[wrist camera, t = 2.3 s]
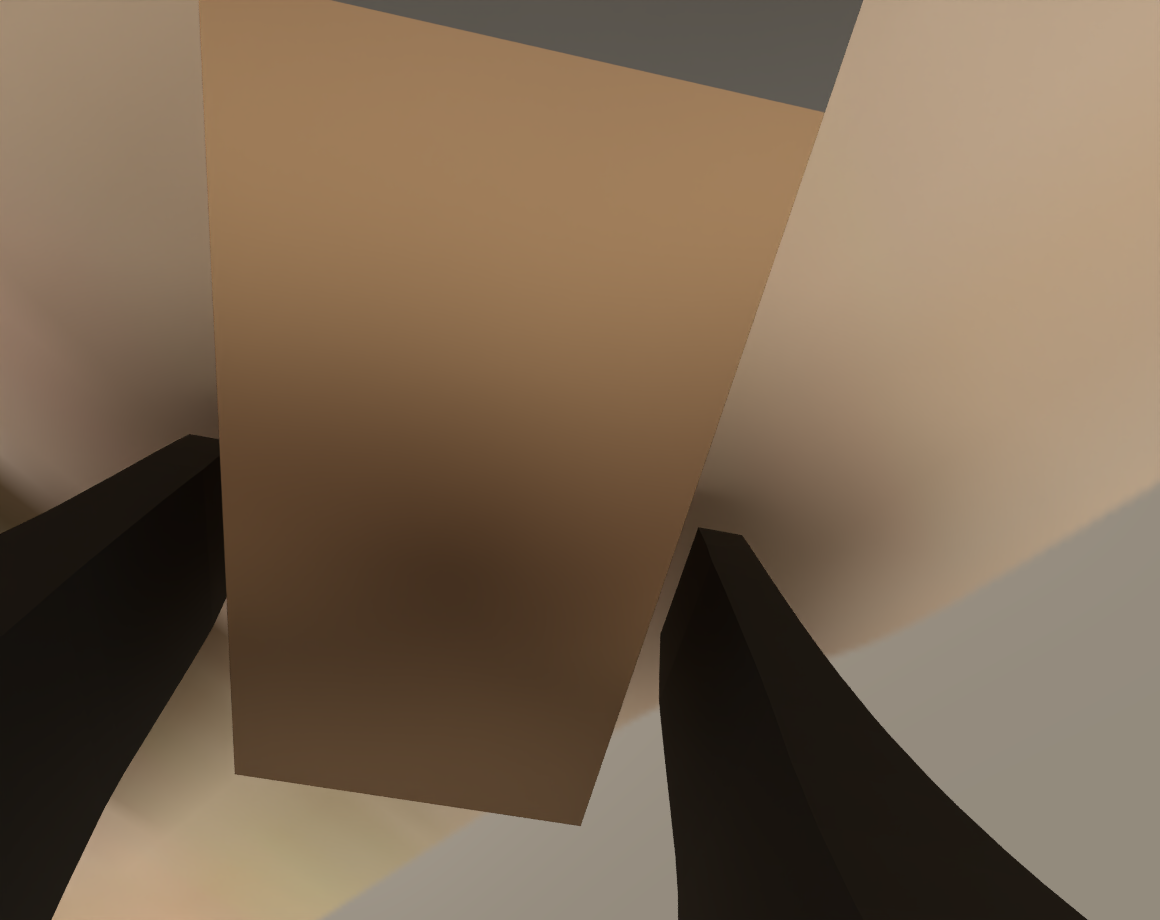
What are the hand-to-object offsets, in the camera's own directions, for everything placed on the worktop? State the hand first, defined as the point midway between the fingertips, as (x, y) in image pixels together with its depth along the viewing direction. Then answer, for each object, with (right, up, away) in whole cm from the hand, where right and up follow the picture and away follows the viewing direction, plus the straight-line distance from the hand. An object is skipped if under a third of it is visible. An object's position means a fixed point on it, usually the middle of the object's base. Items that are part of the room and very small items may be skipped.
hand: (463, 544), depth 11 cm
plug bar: (+1, +4, -1) cm, 4 cm away
